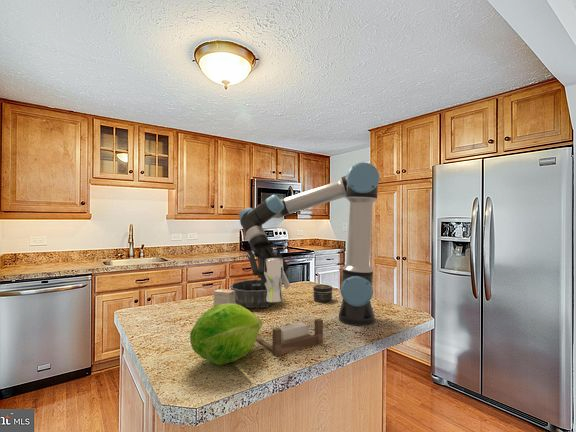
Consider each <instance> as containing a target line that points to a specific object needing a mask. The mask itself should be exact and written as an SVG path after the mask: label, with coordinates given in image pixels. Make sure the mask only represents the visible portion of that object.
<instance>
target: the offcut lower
mask: <svg viewBox="0 0 576 432" xmlns="http://www.w3.org/2000/svg"><path fill="white" fill-rule="evenodd" d="M310 335H311V333H310V332H308V331H307V334H305V335H301V336H297V337H294V338H290V339H286V340H282V339H281V343H283V342H287V341H291V340H295V339H299V338H303V337H307V336H310Z"/></svg>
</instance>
